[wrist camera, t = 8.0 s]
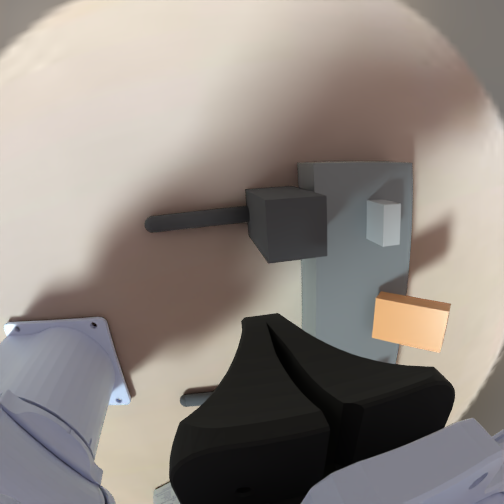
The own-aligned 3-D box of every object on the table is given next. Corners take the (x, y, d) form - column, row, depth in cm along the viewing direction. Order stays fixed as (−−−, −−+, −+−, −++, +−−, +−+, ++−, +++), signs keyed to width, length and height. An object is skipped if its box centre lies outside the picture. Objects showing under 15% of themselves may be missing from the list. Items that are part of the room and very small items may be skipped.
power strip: (301, 405, 26) (318, 444, 21) (297, 162, 20) (326, 163, 16) (371, 387, 27) (396, 420, 22) (388, 161, 21) (431, 164, 17)
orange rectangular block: (371, 337, 21) (439, 352, 18) (375, 297, 20) (448, 311, 17) (377, 329, 22) (442, 343, 18) (381, 291, 21) (450, 303, 18)
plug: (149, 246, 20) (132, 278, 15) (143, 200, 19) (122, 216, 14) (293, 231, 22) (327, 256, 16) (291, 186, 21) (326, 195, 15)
